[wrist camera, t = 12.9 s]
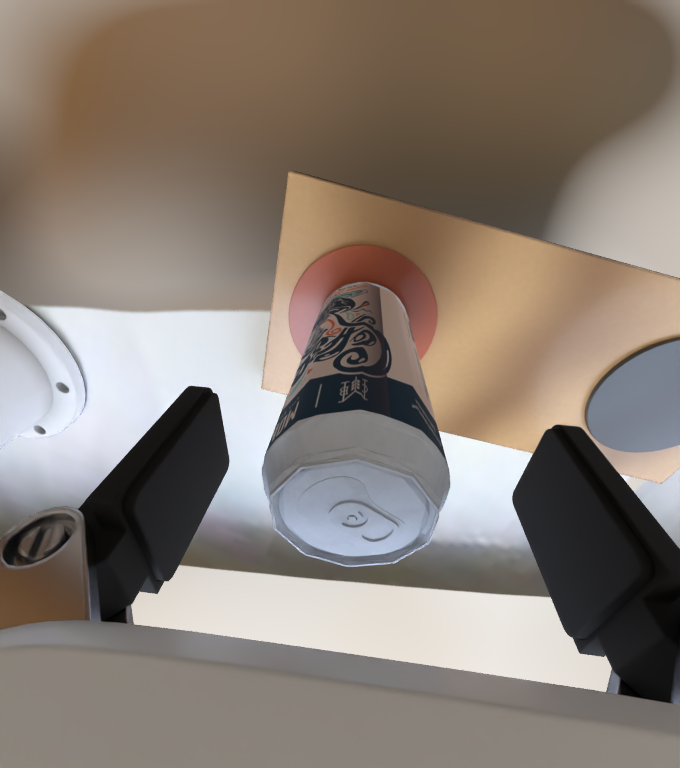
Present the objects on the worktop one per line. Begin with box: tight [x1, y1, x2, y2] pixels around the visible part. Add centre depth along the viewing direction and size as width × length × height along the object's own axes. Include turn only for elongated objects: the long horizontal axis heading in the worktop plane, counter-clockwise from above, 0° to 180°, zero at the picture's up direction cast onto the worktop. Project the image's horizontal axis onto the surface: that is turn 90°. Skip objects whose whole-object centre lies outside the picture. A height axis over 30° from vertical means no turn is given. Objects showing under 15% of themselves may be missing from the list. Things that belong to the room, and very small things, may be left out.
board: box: [261, 171, 680, 483], centre depth 19 cm, size 28×12×2 cm, turn 77°
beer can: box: [262, 282, 450, 567], centre depth 13 cm, size 5×5×12 cm
